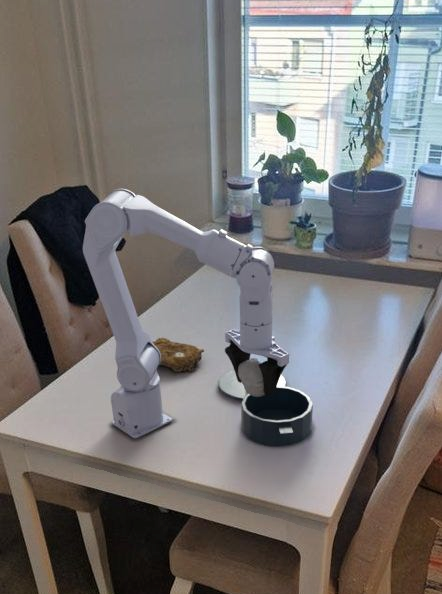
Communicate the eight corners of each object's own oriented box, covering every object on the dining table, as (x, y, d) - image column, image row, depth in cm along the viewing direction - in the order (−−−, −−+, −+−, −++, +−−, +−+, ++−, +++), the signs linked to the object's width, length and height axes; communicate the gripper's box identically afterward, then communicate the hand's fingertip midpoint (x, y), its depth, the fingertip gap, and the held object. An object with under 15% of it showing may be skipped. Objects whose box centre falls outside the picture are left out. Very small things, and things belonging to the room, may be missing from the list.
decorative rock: (130, 365, 156) (185, 381, 150) (128, 350, 154) (184, 365, 148) (157, 343, 164) (210, 358, 158) (155, 328, 161) (210, 342, 155)
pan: (299, 400, 140) (300, 376, 137) (321, 451, 125) (323, 426, 122) (235, 405, 139) (235, 382, 136) (250, 458, 123) (250, 433, 120)
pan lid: (278, 368, 152) (278, 349, 150) (291, 400, 140) (292, 380, 138) (215, 373, 151) (214, 355, 148) (223, 406, 139) (222, 386, 136)
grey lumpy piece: (249, 383, 131) (249, 350, 127) (280, 392, 127) (280, 359, 124) (231, 396, 127) (230, 363, 123) (263, 406, 123) (263, 373, 119)
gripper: (302, 324, 116) (299, 393, 124) (244, 302, 125) (245, 367, 133) (273, 337, 112) (272, 407, 120) (215, 313, 122) (218, 379, 129)
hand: (256, 387), depth 126 cm, fingers closed on grey lumpy piece, 7 cm apart
